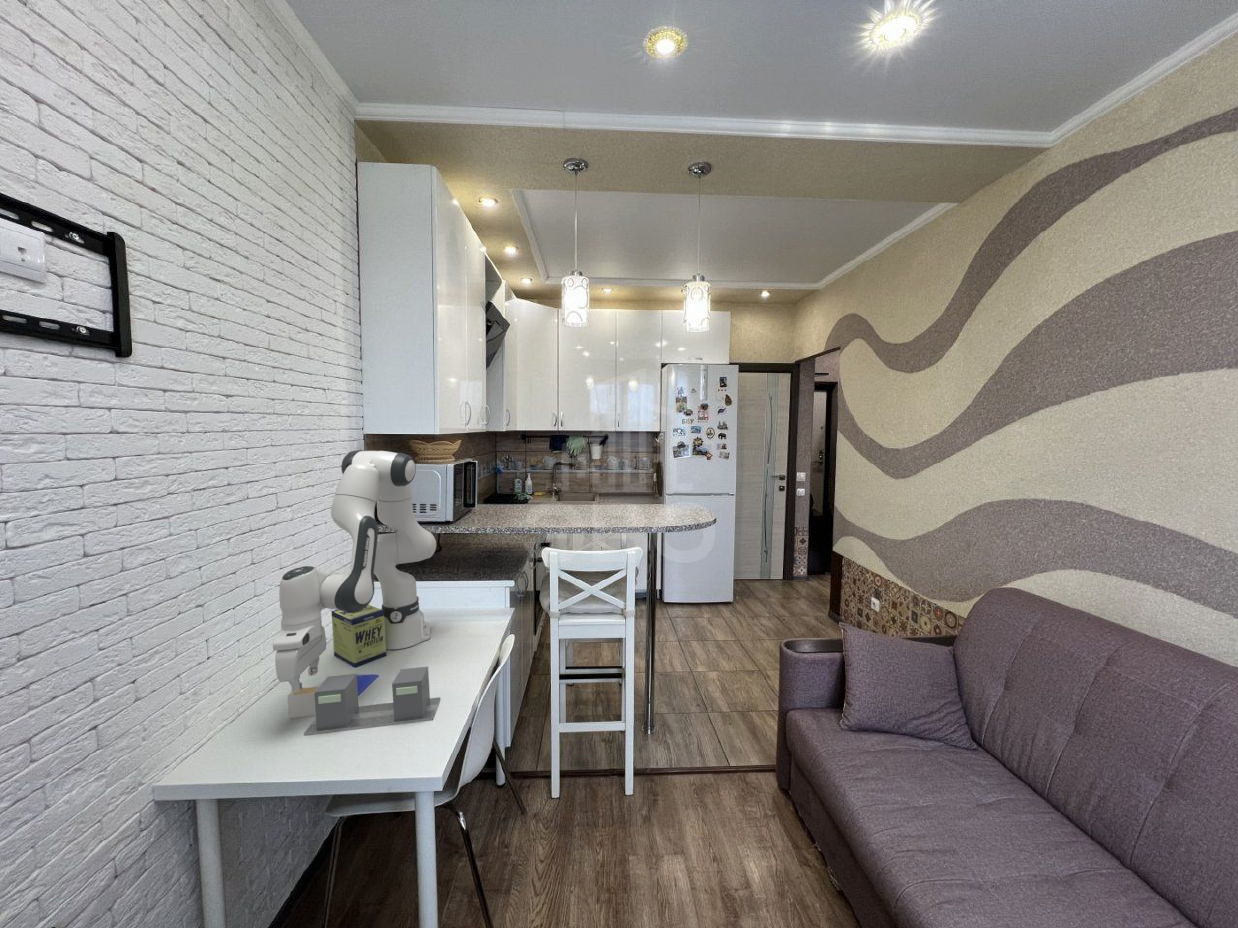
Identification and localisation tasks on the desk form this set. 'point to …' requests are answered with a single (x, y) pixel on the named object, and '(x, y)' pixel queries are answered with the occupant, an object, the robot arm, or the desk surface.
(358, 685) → the hard drive
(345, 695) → the block
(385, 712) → the rail plate
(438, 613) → the desk surface
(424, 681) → the block
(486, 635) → the desk surface
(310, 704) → the loose module
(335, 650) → the protein box
